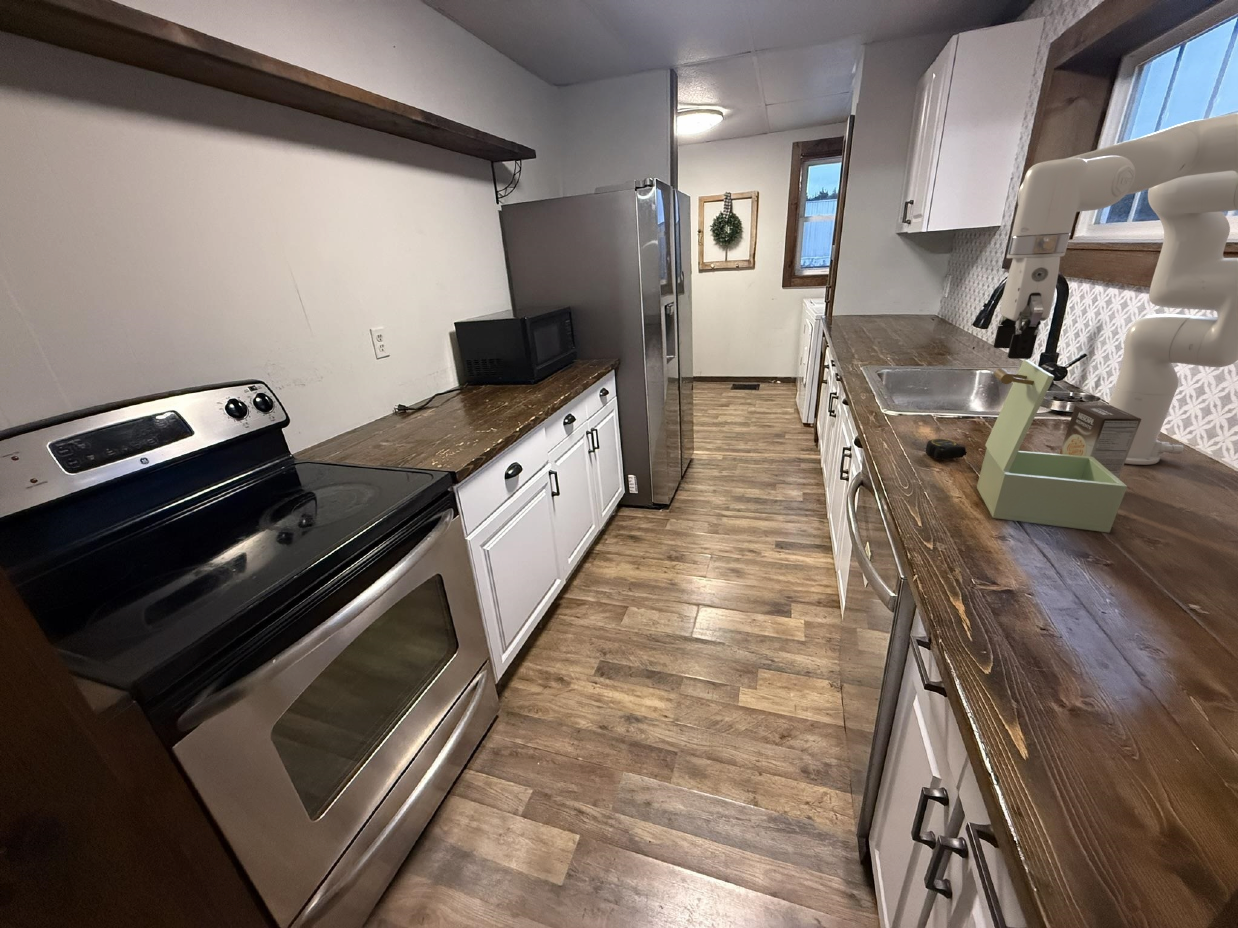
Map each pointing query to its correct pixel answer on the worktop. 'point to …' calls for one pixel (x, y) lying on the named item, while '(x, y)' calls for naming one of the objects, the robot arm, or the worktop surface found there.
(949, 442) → the tape measure
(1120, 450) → the coffee box
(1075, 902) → the worktop surface
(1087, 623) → the worktop surface
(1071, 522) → the chest
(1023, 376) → the lid
